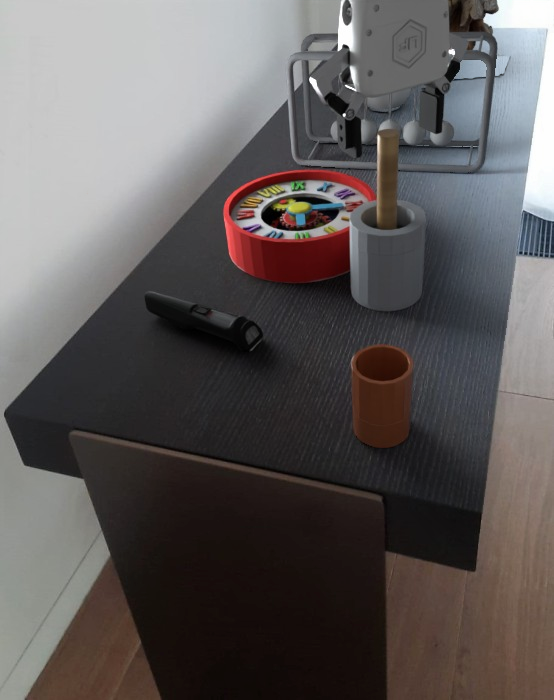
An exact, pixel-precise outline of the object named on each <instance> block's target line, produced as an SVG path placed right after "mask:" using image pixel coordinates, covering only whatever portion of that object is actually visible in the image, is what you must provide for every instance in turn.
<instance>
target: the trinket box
mask: <svg viewBox="0 0 554 700" xmlns="http://www.w3.org/2000/svg"><path fill="white" fill-rule="evenodd" d="M412 90H413V88H410V89H407V90H403V91H399V92H396V93H392V106H391V94H390V106H391V109H392V108H396V107H399V106H401V107H402V106H403V105H404V104H405V103H406V102H407V101H408V99H409V98H410V96H411V94H412V92H413V91H412ZM363 104H364V102H363ZM402 104H403V105H402ZM365 106H366V98H365ZM368 107H370V108H374V109H380V110H381V109H382V110H384V109H389V94H388V95H384V96H380V97H374V98H370V97H367V108H368Z"/></svg>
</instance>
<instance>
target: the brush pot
mask: <svg viewBox="0 0 554 700" xmlns="http://www.w3.org/2000/svg"><path fill="white" fill-rule="evenodd" d="M414 369H415V363H414V360H413V357H412V356H411V354H409V353H408V352H407V351H406V350H405V349H402V348H400V347H398V346H396V345H391V344H384V343H380V344H371V345H369V346H366V347H363V348H360V350H358V351H357V352H355V354H354V355H353V357H352V359H351V361H350V379H351V381H350V383H351V406H352V431H353V433H354V435H355V437H356V436H357V437H356V438H357V439H358V440H359V441H360V442H361V443H362V444H364V443H365V444H364V445H366V444H367V445H366V446H368V445H369V447H371V446H372V447H371V448H377V449H389V448H392V447H396V446H398V445H400V444H402V443H403V442H405V440H407V438H408V436H409V435H410V434H411V433H410V432H411V420H412V406H413V389H414V388H413V387H414V373H415V372H414V371H415V370H414Z"/></svg>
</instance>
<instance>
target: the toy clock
mask: <svg viewBox="0 0 554 700" xmlns="http://www.w3.org/2000/svg"><path fill="white" fill-rule="evenodd" d="M375 200H377V194H376V193H375V191H374V190H373V188H372V187H371V186H370V185H369V184H368V183H366V182H365V181H363V180H361V179H359V178H357V177H355V176H352V175H349V174H347V173H343V172H338V171H334V170H326V169H325V170H324V169H296V170H295V169H294V170H288V171H282V172H277V173H272V174H269V175H264V176H261V177H259V178H255V179H254V180H251V181H249V182H247V183H245V184H243V185H242V186H240V187H239V188H236V190H234V191H233V192H232V193H231V194H230V195H229V196H228V198H227V199H226V201H225V202H224V205H223V209H222V210H223V220H224V227H225V233H226V240H227V247H228V254H229V257H230V259H231V261H232V262H233V263H234V265H235V266H236V267H237V268H238V269H239V270H241V271H242V272H244V273H246V274H248V275H250V276H252V277H254V278H257V279H261V280H264V281H269V282H275V283H281V284H282V283H283V284H284V283H286V284H308V283H313V282H314V283H315V282H321V281H325V280H329V279H334V278H337V277H339V276H342V275H345V274H347V273H349V272H350V225H349V219H350V214H351V213H352V211H353V210H354V209H355V208H357V207H359V206H360V205H362V204H364V203H367V202H371V201H375Z"/></svg>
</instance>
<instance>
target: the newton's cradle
mask: <svg viewBox="0 0 554 700" xmlns="http://www.w3.org/2000/svg"><path fill="white" fill-rule="evenodd" d="M338 33H339V32H337V33H335V32H334V33H310V34H309V35H307V36H305V38H304V39H303V40H302V42H301V45H300V51H299V52H295V53H292V54H291V55H290V56H289V57H288V58H287V60H286V63H285V81H286V92H287V93H286V94H287V95H286V96H287V107H288V121H289V135H290V147H291V148H290V149H291V155H292V156H291V157H292V159H293V160H294V162H295V163H296V164H297V165H299V166H301V165H308V166H309V165H311V166H321V167H320V168H323V167H335V168H334V169H348V168H350V170H351V169H352V170H376V171H377V161H354V160H353V161H352V160H351V161H350V160H328V159H327V160H324V159H323V160H322V159H312V157H313V155H314V154H315V152H316V150H317V148H318V146H319V145H318V144H319V142H320V141H326V142H327V141H328V142H329V141H335V142H338V135H337V119H336V120H335V121H334V122H333V123H332V125H331V126H330V127H331V128H330V135H331V136H319V135H316V134H315V133H314V131H313V120H312V119H313V117H312V99H311V82H310V65H309V64H310V63H309V61H328V60H329V59H330V58H331V57H332V56H333V55H335V54H336V53H337V52H338V49H336V50H309V48H310V46H311V45H312V44H313V43H314V44H315V43H316V44H318V43H338ZM450 33H452V34H455V35H457V36H459V37H462V38H464V39H466V40H468V41H476V42H479V44H478V49H473V50H466V52H465V55H464V57H463V59H462V60H481V61H483V62H484V63H485V64H486V67H487V70H486V78H485V82H484V90H483V91H484V92H483V102H482V111H481V120H480V121H481V122H480V130H479V131H480V132H479V138H477V139H475V140H458V139H457V140H453V139H454V136H455V128H454V126H453V124H451V122H449V121H448V120H444V119H443V121H442V132H441V133H439V134H434V133H432V132H430V131H429V139H426V137H427V130H426V129H423V128H421V127H420V126H419V119H416V118H417V106H418V105H417V104H418V103H417V102H418V87H419V86H418V87H414V95H413V96H414V97H413V100H414V101H413V108H414V109H413V120H409V121H408V122H406V123H405V124H404V125H403V128H402V126H401V124H400V122H398V121H397V120H395V119H392V112H391V106H392V94H391V106H390V94H389V112H388V119H386V120H384V121H383V122H381V123H380V125H379V126H378V125H377V124H376V122H374V121H373V120H372V119H369V118H368V106H367V97H366V105H365V100H364V103H363V109H364V118H363V119H361V136H362V143H365V144H377V133H378V132H379V131H380V130H383V129H395V130H397V131H398V132H399V145H423V146H424V145H429V146H462V147H463V146H471V147H470V148H469V154H468V159H467V160H468V161H467V165H463V164H462V165H461V164H440V163H439V164H437V163H435V164H433V163H410V162H409V163H408V162H406V163H405V162H398V171H399V170H400V171H402V172H425V173H426V172H429V173H450V172H453V173H454V172H455V173H454V174H474V173H475V172H478V171H479V170H480V169H482V168H483V166H484V165H485V162H486V156H487V147H488V137H489V132H490V125H491V113H492V103H493V94H494V88H495V87H494V86H495V78H496V77H495V68H496V59H497V55H498V50H499V49H498V48H499V47H498V41H497V39H496V37H495V36H494V35H493V34H490V33H488V32H450ZM484 42H486V43H487V44H488V45H489V51H488V53H487V52H485V51H482V48H483V43H484ZM298 61H301V76H302V91H303V93H302V95H303V107H304V109H303V110H304V125H305V127H304V128H305V133H306V136H307V138H308V139H309V140H310V141H311V140H313V141H318V142H317V143H315V145H314V147H313V149H312V151H311V152H310V154H309V155H308V158H307V159H306V158H303V157H302V156H301V154H300V150H299V136H298V123H297V120H298V119H297V107H296V105H297V104H296V91H295V77H294V76H295V75H294V66H295V64H296V62H298ZM337 81H338V82H337V83H338V92H339V91H340V89H341V86H340V85H341V82H340V78H339V75H338V76H337ZM401 137H402V138H401ZM313 141H312V142H313ZM473 146H479V147H478V149H477V160H476V162H475V163H473V164H471V163H472V157H473V151H474V148H473ZM315 149H316V150H315ZM314 151H315V152H314ZM313 153H314V154H313ZM468 172H469V173H468ZM470 172H471V173H470ZM453 173H452V174H453Z"/></svg>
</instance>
